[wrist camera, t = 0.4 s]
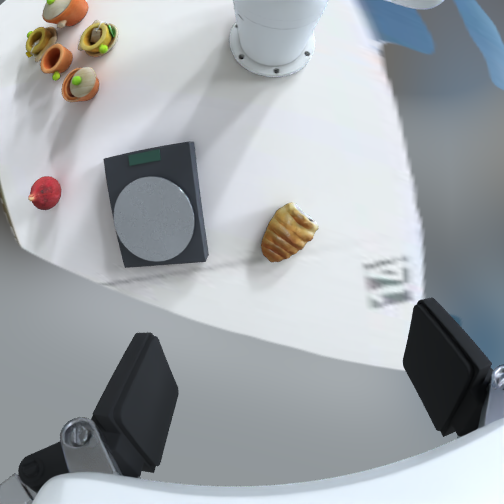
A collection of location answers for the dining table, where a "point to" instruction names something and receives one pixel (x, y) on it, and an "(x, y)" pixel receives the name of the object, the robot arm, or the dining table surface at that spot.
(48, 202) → the onion
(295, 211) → the pastry
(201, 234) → the scale
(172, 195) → the scale pan
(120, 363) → the robot arm
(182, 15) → the dining table surface
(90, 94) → the toy tea set
